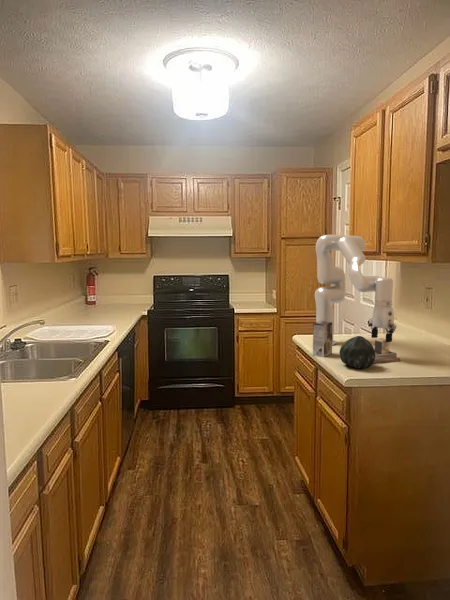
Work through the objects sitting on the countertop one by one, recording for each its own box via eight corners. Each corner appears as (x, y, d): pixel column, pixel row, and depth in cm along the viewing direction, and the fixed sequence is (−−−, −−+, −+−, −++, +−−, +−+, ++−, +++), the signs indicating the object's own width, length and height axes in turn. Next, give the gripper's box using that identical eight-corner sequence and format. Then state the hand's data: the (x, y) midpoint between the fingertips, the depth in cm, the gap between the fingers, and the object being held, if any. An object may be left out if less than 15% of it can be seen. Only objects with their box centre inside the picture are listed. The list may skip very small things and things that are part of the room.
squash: (350, 348, 200) (343, 327, 191) (382, 354, 191) (376, 332, 182) (339, 372, 193) (331, 352, 184) (372, 379, 184) (365, 359, 175)
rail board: (353, 357, 204) (354, 345, 204) (380, 354, 210) (381, 342, 209) (372, 364, 192) (372, 350, 191) (400, 360, 198) (400, 347, 197)
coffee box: (320, 352, 217) (321, 320, 215) (332, 353, 213) (333, 321, 211) (312, 355, 210) (312, 323, 208) (324, 357, 206) (324, 324, 204)
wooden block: (381, 354, 205) (381, 338, 204) (388, 356, 200) (389, 340, 200) (373, 355, 204) (374, 339, 203) (381, 357, 199) (381, 340, 198)
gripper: (403, 306, 193) (401, 343, 195) (377, 301, 209) (375, 335, 211) (390, 306, 190) (388, 344, 192) (364, 302, 206) (362, 336, 208)
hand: (381, 339), depth 202 cm, fingers open, 9 cm apart
